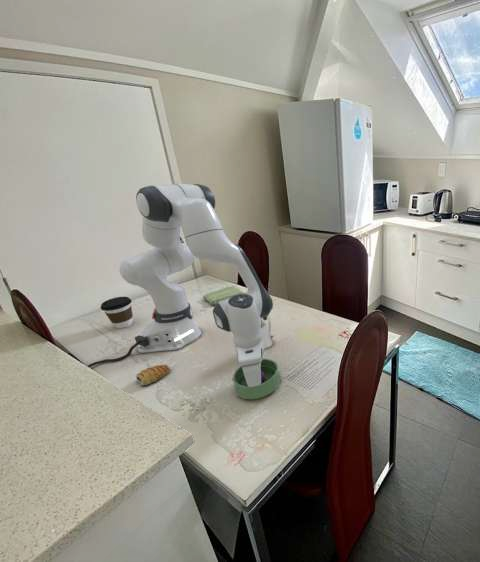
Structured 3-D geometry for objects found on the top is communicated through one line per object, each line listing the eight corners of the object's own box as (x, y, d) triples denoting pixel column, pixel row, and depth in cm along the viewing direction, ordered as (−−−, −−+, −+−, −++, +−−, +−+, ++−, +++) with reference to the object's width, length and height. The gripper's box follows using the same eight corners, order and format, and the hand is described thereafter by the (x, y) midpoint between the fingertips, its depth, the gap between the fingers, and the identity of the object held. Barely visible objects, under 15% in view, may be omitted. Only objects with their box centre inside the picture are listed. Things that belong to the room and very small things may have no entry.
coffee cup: (110, 334, 135) (100, 310, 130) (108, 324, 142) (98, 301, 137) (140, 325, 141) (132, 301, 136) (137, 316, 149) (129, 293, 144)
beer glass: (268, 350, 123) (263, 317, 117) (252, 348, 124) (246, 315, 118) (277, 340, 129) (272, 308, 123) (262, 338, 130) (256, 306, 124)
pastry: (164, 366, 115) (161, 357, 113) (173, 373, 111) (170, 364, 109) (135, 380, 107) (132, 372, 106) (144, 388, 104) (140, 379, 102)
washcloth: (245, 295, 168) (244, 290, 167) (212, 307, 156) (211, 301, 155) (234, 288, 176) (233, 283, 175) (202, 299, 164) (200, 294, 163)
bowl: (235, 405, 97) (231, 392, 94) (236, 376, 109) (233, 364, 107) (282, 394, 101) (279, 380, 99) (278, 367, 113) (276, 354, 111)
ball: (250, 390, 102) (247, 378, 100) (250, 380, 106) (247, 368, 104) (266, 386, 103) (264, 374, 101) (265, 377, 108) (263, 365, 106)
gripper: (240, 329, 106) (247, 362, 112) (238, 365, 89) (246, 402, 94) (259, 325, 108) (265, 358, 114) (261, 360, 91) (268, 397, 96)
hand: (257, 378), depth 104 cm, fingers open, 7 cm apart
